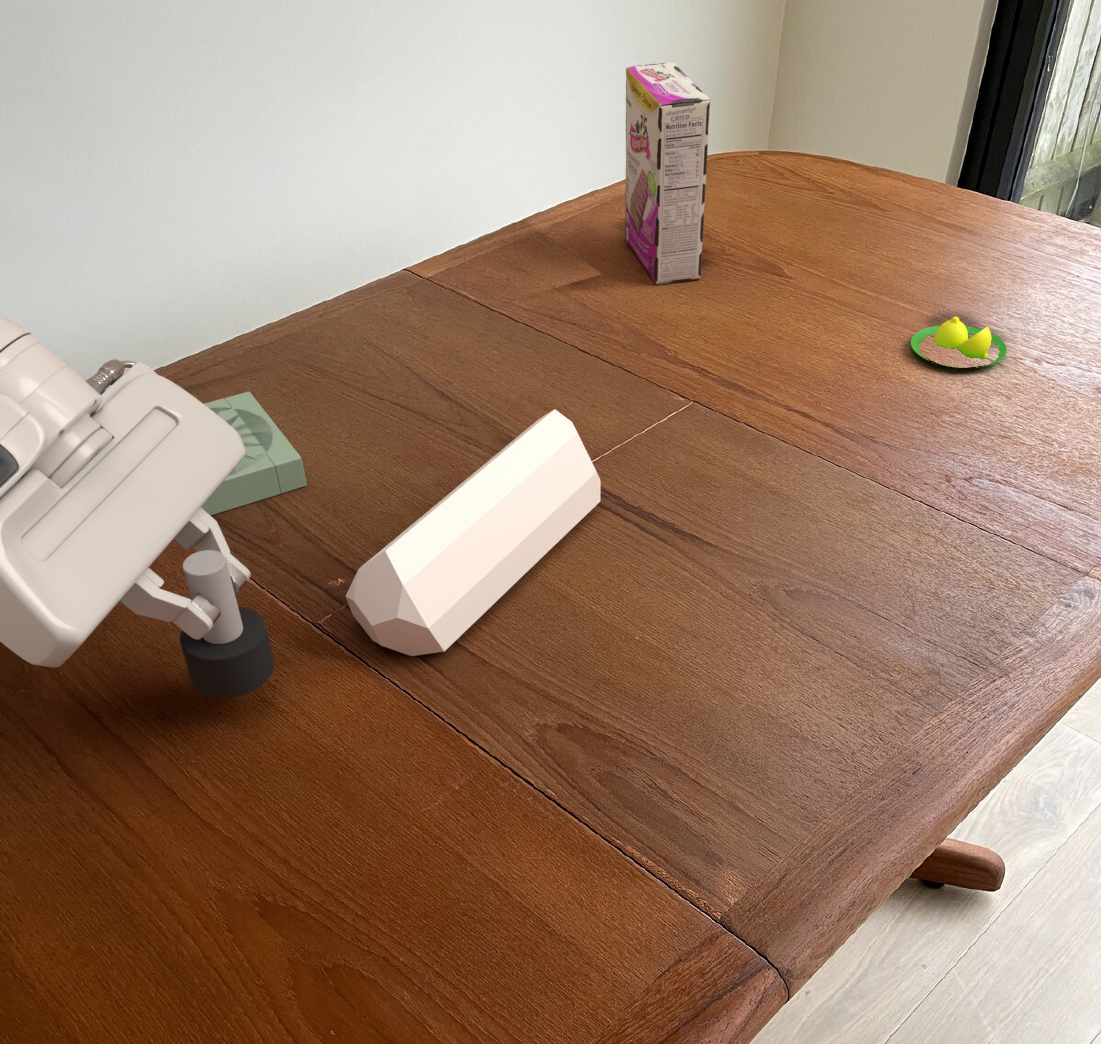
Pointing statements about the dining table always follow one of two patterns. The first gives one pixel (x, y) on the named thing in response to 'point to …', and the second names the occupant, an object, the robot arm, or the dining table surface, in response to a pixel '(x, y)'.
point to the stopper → (225, 634)
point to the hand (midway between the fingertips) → (225, 607)
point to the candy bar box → (665, 171)
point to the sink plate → (255, 457)
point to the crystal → (476, 541)
